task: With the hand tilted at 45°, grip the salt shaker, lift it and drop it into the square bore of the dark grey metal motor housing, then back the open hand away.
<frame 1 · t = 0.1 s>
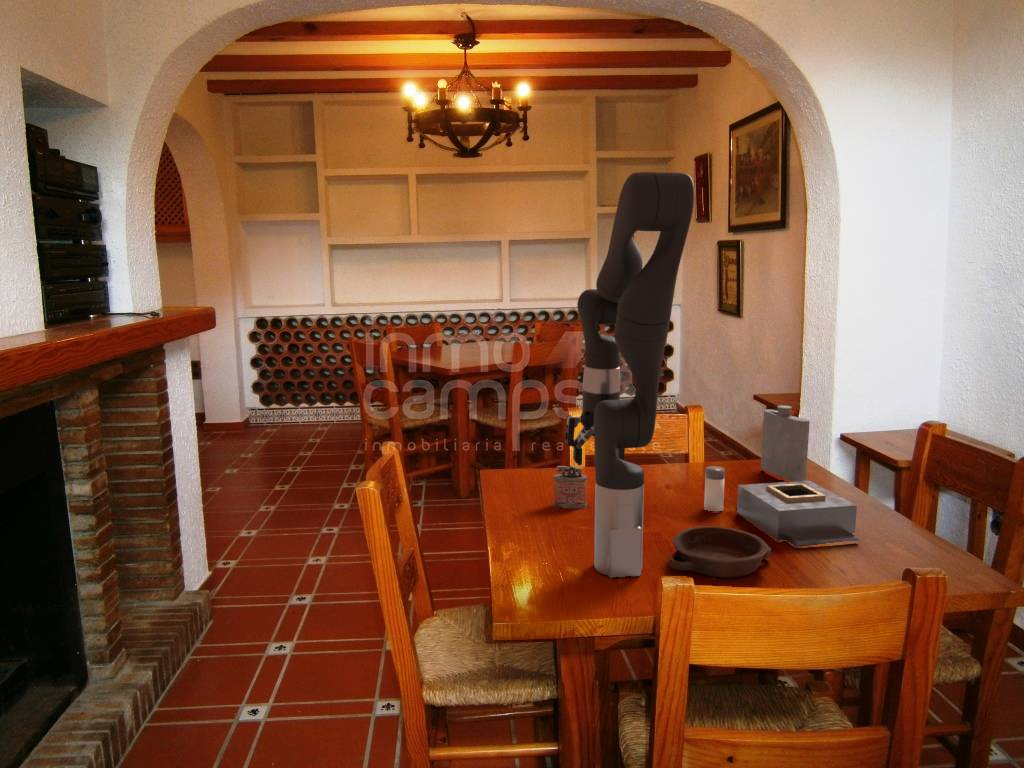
hand: (598, 463, 153), 17 cm above the table, tool pointing down, fingers open, 8 cm apart
lighter: (570, 506, 179), on the table
hip flask: (781, 478, 200), on the table
salt shaker: (713, 509, 176), on the table
motor housing: (793, 524, 166), on the table
dish: (718, 566, 145), on the table
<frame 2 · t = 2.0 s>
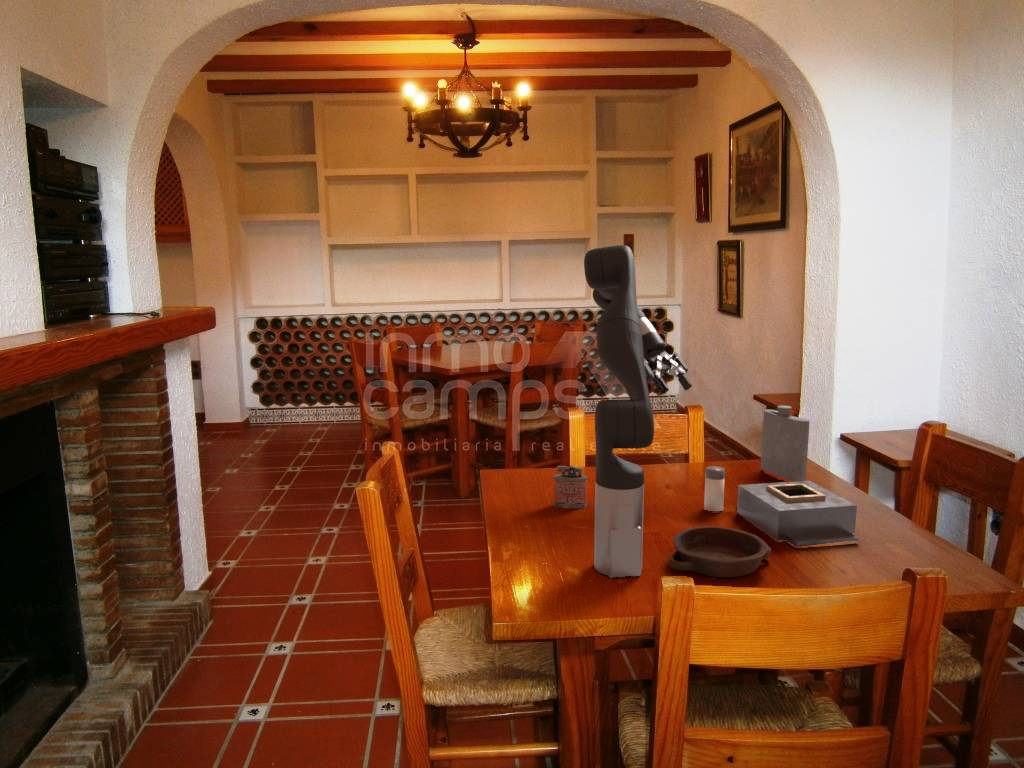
hand: (677, 390, 181), 27 cm above the table, tool tilted 45°, fingers open, 8 cm apart
nothing on the table moved.
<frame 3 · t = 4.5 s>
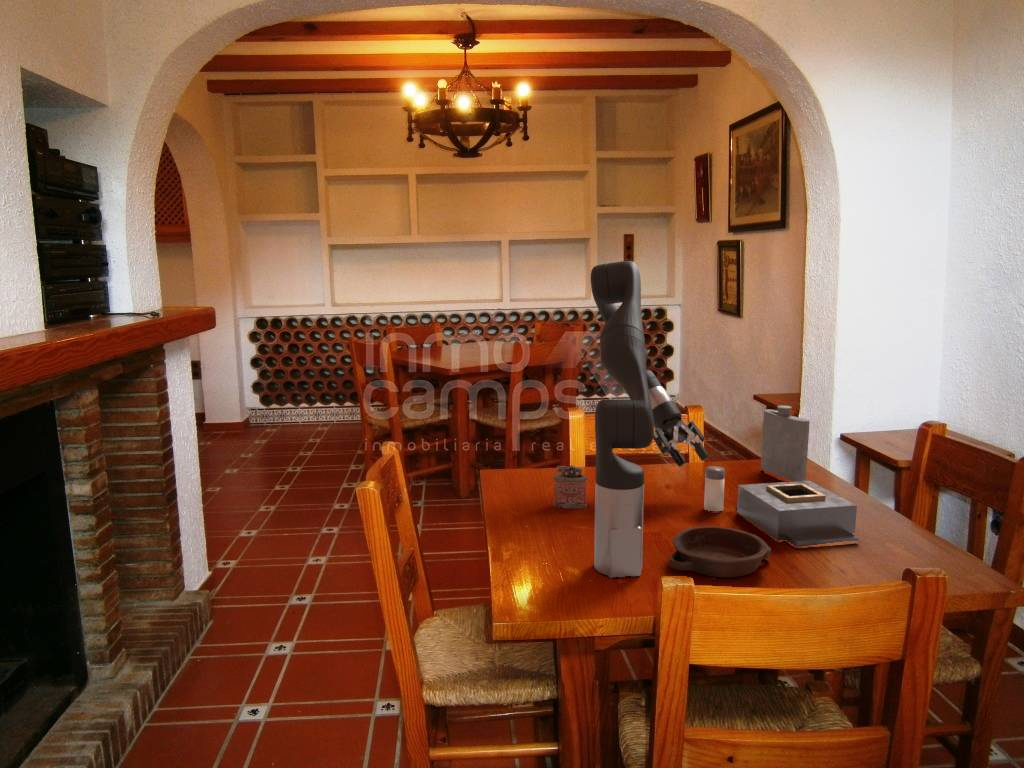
hand: (694, 461, 179), 10 cm above the table, tool tilted 45°, fingers open, 8 cm apart
nothing on the table moved.
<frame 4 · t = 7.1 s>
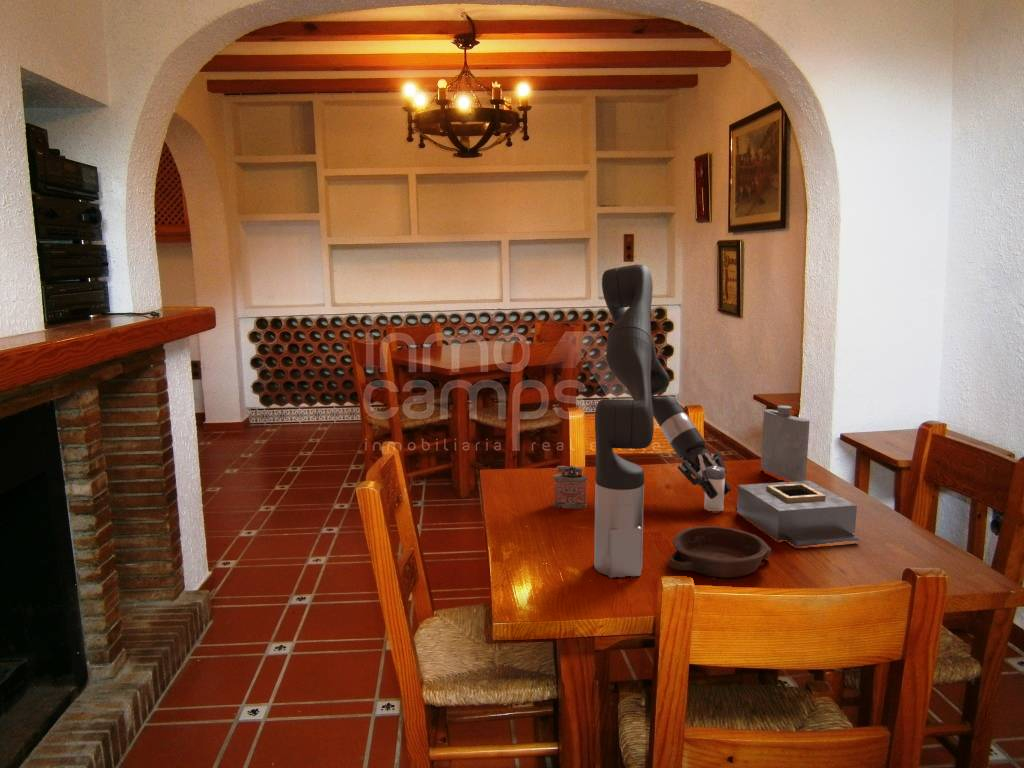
hand: (721, 494, 174), 4 cm above the table, tool tilted 45°, fingers closed on salt shaker, 4 cm apart
salt shaker: (713, 509, 176), on the table, touching gripper
everything else where it was.
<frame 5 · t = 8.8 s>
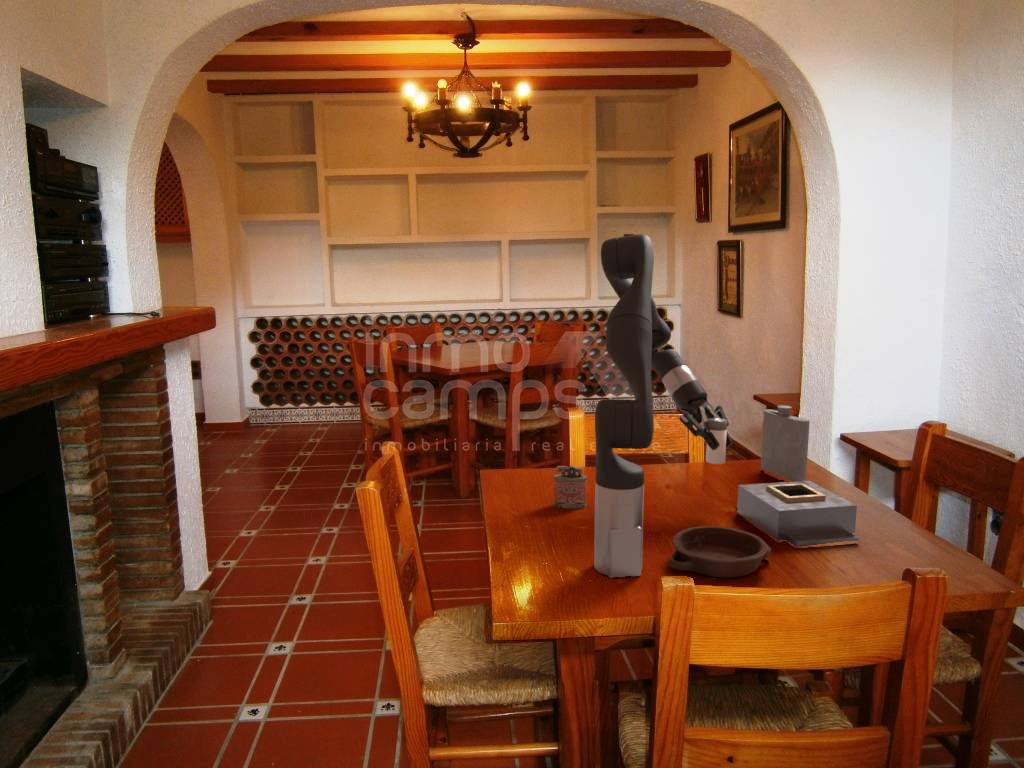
hand: (723, 446, 172), 16 cm above the table, tool tilted 45°, fingers closed on salt shaker, 4 cm apart
salt shaker: (715, 461, 174), point 12 cm above the table, touching gripper
everything else where it was.
when the fingers open (14 cm above the table, at t = 10.9 s): salt shaker drops 9 cm, resting in motor housing.
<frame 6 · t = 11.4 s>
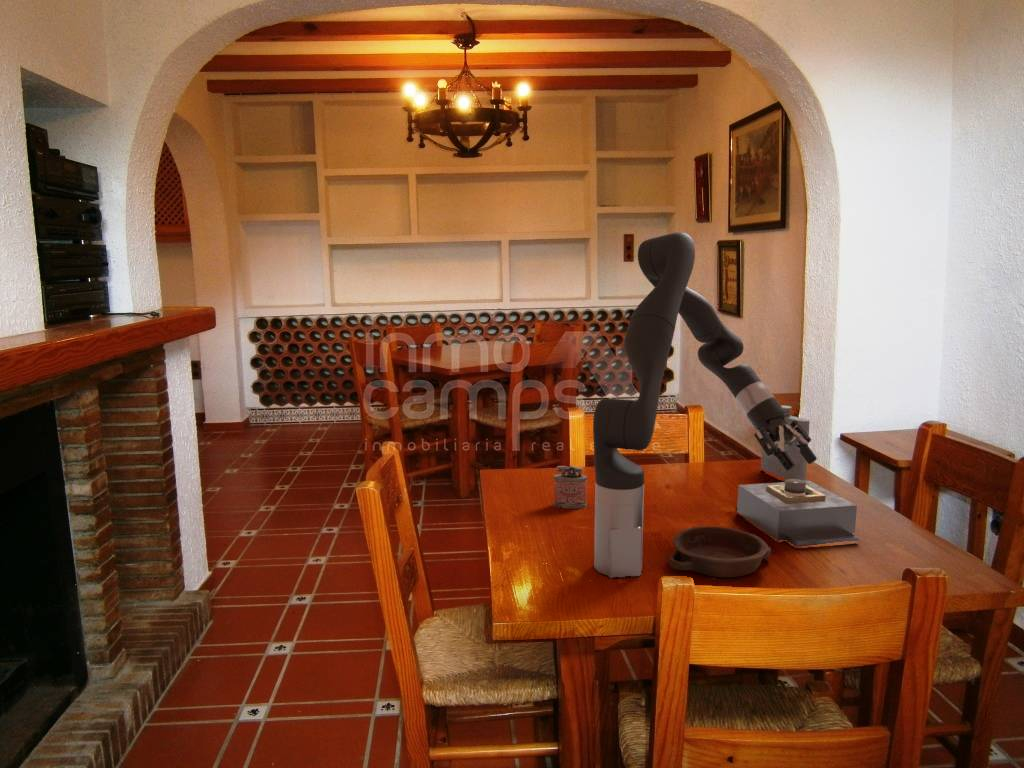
hand: (802, 465, 162), 14 cm above the table, tool tilted 45°, fingers open, 8 cm apart
salt shaker: (792, 524, 166), resting in motor housing
everything else where it was.
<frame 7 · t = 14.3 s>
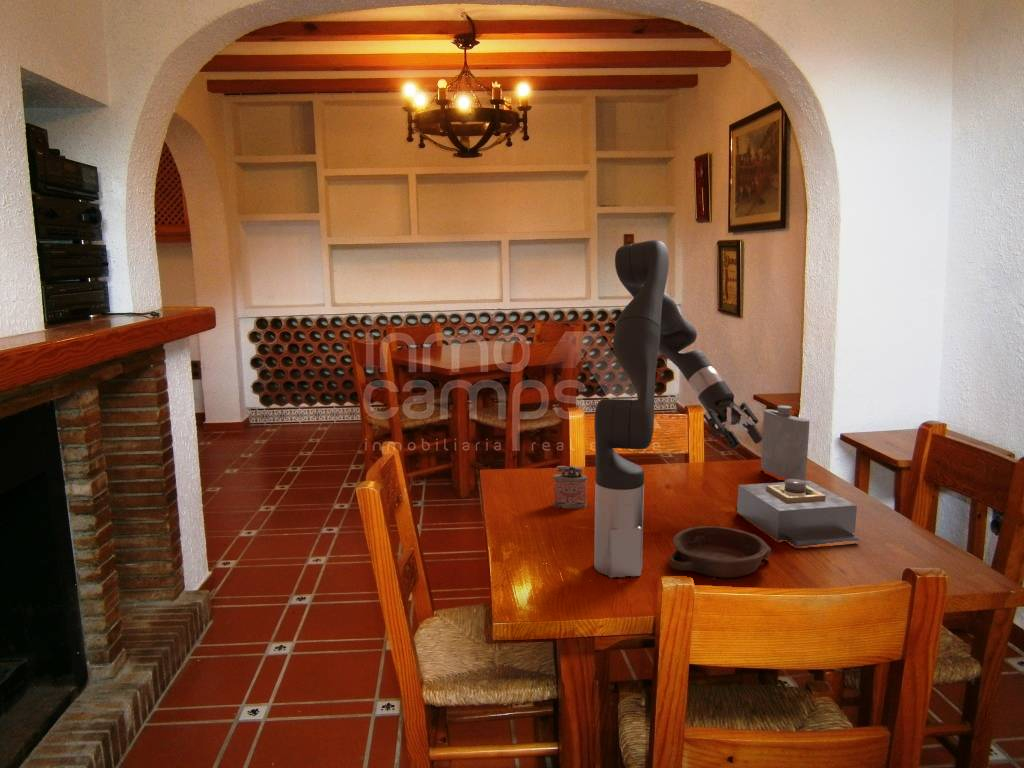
hand: (748, 444, 172), 16 cm above the table, tool tilted 45°, fingers open, 8 cm apart
nothing on the table moved.
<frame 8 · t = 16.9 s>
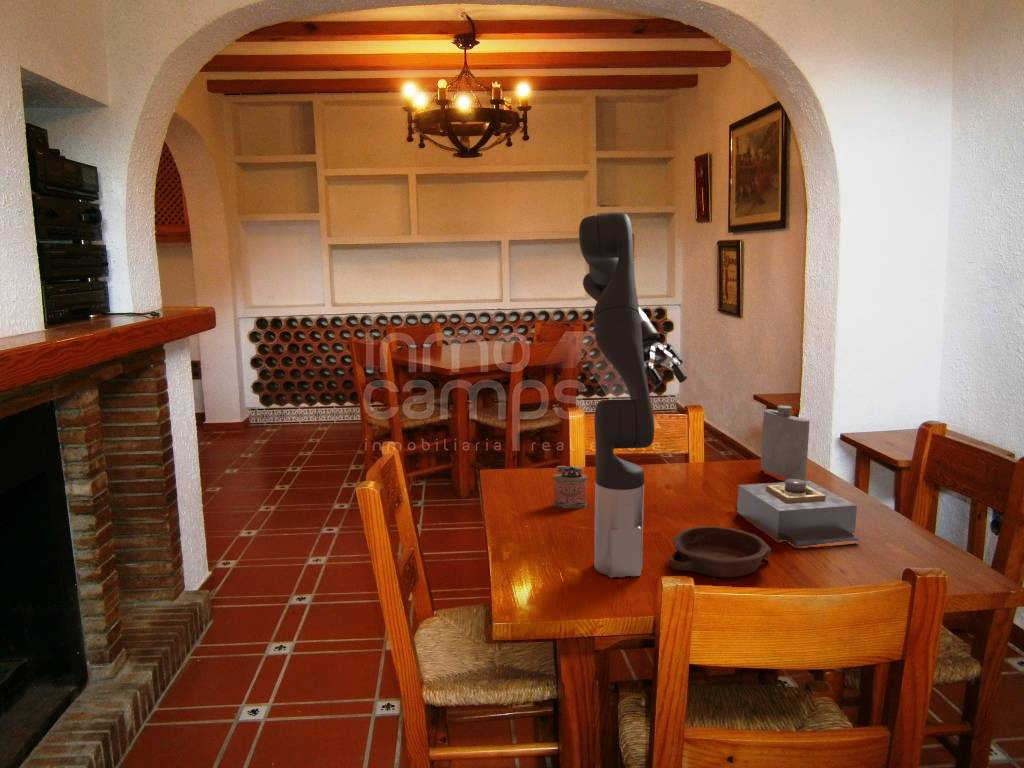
hand: (671, 382, 172), 31 cm above the table, tool tilted 45°, fingers open, 8 cm apart
nothing on the table moved.
at the end: salt shaker 0.1 cm off-centre on the motor housing, point 0.0 cm above the motor housing's base; salt shaker tilted 1°; the gripper is holding nothing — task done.
